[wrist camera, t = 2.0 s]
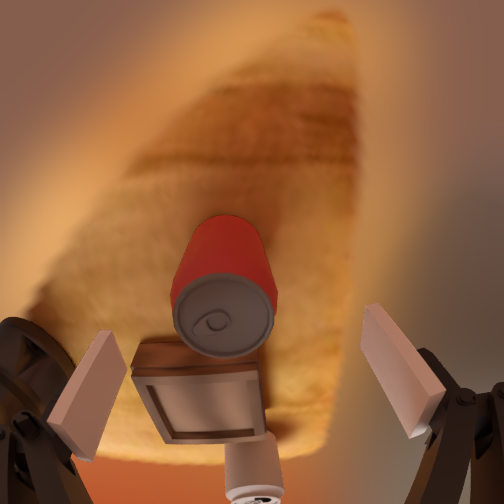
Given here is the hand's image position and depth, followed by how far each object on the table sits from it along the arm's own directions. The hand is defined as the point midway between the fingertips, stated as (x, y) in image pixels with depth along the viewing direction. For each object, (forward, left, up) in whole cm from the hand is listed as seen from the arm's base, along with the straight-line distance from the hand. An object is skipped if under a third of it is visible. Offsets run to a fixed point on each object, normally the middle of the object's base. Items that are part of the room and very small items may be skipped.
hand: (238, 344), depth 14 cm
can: (-1, -29, -14) cm, 32 cm away
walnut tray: (-5, -16, -14) cm, 22 cm away
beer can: (-1, 0, -14) cm, 14 cm away
